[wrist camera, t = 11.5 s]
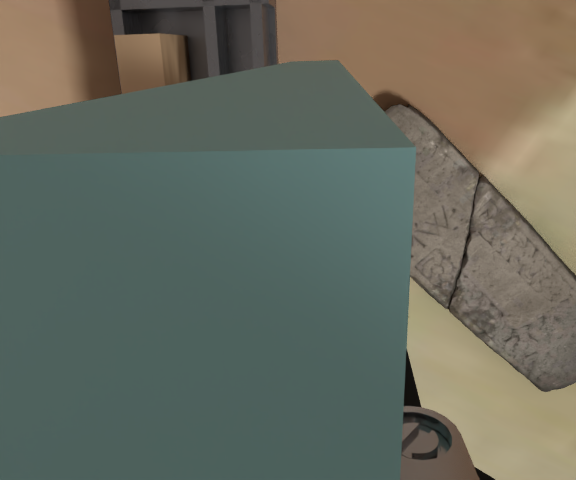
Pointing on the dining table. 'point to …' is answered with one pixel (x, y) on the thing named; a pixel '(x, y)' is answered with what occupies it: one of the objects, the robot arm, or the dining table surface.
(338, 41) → the dining table surface
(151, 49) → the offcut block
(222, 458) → the teal board
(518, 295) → the stone slab
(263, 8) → the metal rack
